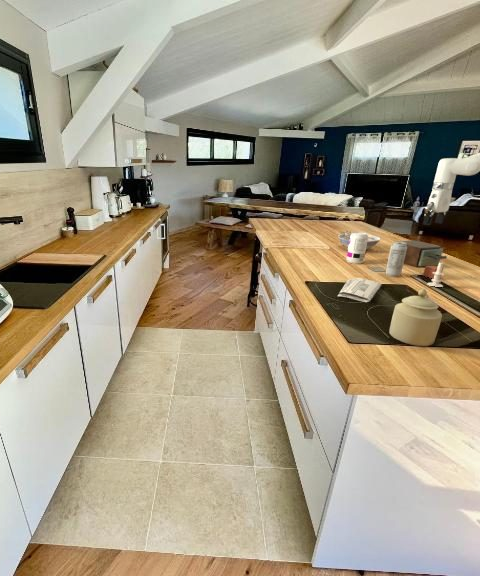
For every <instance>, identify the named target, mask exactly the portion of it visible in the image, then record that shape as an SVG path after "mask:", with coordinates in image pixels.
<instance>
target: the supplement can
mask: <svg viewBox="0 0 480 576" xmlns="http://www.w3.org/2000/svg"><path fill="white" fill-rule="evenodd" d="M350 234H351V235H350V240H349V246H348V247H347V252H346V259H345V261H346V262H347V263H349V264H353V265H361V264H363V263H364V262H365V256H366V251H367V249H366V246H367V241H368V235H369V234H368V233H367V232H361V231H354V232H351V233H350Z"/></svg>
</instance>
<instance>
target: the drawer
mask: <svg viewBox="0 0 480 576" xmlns="http://www.w3.org/2000/svg"><path fill="white" fill-rule="evenodd" d="M443 251H444V248H443V247H441V248H439V249H437V248H433V249H422V250H421V254H420V258H419V262H418V264H419V265H418V266H422V267H425V266H428V265H431V266H433V265H434V266H438V265H439V263H441V260H446V259H447V258H448V256H447V255H443Z"/></svg>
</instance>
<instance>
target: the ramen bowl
mask: <svg viewBox="0 0 480 576" xmlns="http://www.w3.org/2000/svg"><path fill="white" fill-rule="evenodd" d="M351 234H352V231H351V230H350V231H348V230H346V232H345V233H341V234H338V235H337V237H338V240H339V242H340V243H341V244H342V246H343V247H346V248H348V246H349V240H350V235H351ZM367 235H368V241H367V246H366V250H368V249H371V248H372V247H373V248H374V247H375V246H376V245H377V244H378V243H379V242H380V241H381V238H380V236H376V235H372V234H367Z"/></svg>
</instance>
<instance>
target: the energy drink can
mask: <svg viewBox="0 0 480 576" xmlns="http://www.w3.org/2000/svg"><path fill="white" fill-rule="evenodd" d="M406 244H407V243H405V242H400V241H393V243H392V244H391V246H390V249H389V255H388V259H387V264H386V269H385V273H386V276H388V277H392V278H399V277H400V276H401V275H402V272H403V268H404V260H405V255H406V251H407V245H406Z"/></svg>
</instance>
